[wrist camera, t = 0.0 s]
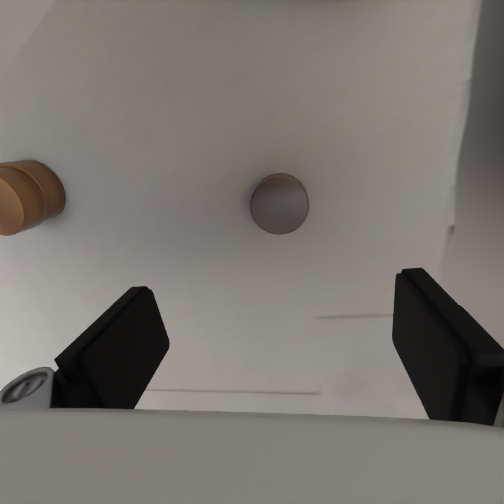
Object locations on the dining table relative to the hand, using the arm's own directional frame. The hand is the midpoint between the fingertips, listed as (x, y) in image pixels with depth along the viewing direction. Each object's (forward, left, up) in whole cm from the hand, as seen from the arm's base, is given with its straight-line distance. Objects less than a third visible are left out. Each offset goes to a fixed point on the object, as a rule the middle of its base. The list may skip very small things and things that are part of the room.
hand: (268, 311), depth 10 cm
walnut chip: (0, 0, -17) cm, 17 cm away
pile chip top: (+13, -22, -14) cm, 29 cm away
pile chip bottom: (+13, -22, -17) cm, 31 cm away
